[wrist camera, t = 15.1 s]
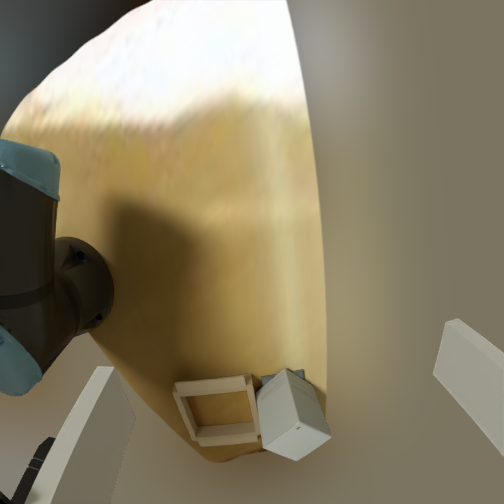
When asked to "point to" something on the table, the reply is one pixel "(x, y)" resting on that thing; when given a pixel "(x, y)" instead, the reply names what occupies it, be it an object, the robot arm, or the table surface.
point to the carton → (218, 433)
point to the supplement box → (290, 416)
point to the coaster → (267, 378)
